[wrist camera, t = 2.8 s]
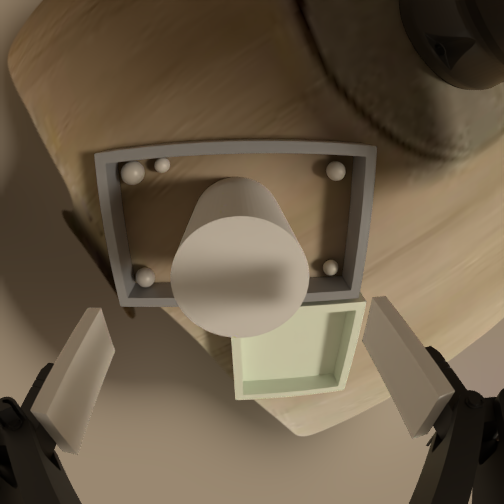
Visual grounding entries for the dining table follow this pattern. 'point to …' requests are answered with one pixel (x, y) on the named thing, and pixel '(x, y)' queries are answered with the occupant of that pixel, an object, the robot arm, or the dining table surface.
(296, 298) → the cup
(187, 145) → the gravel bin
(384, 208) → the dining table surface
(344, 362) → the sage tray
